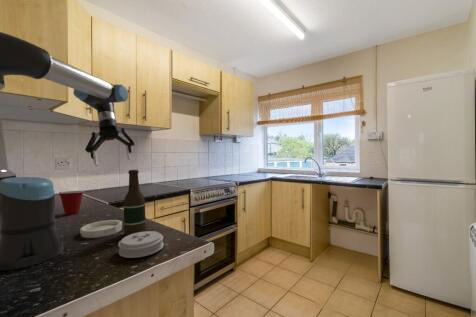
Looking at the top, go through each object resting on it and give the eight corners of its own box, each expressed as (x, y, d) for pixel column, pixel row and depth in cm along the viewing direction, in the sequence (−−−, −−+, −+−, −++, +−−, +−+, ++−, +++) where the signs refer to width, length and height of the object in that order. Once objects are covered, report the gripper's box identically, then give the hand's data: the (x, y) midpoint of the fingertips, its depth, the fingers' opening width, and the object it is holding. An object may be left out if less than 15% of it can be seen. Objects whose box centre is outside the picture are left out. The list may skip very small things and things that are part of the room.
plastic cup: (90, 211, 120) (89, 189, 120) (73, 216, 109) (72, 192, 109) (71, 210, 121) (71, 189, 121) (53, 216, 110) (52, 192, 110)
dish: (106, 238, 79) (106, 231, 79) (71, 237, 80) (71, 231, 80) (129, 226, 92) (128, 220, 92) (98, 225, 93) (98, 219, 93)
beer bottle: (150, 233, 83) (148, 169, 83) (128, 239, 78) (126, 171, 77) (141, 228, 89) (139, 169, 88) (120, 234, 83) (118, 170, 82)
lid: (130, 265, 59) (130, 247, 59) (111, 253, 67) (111, 236, 67) (171, 249, 69) (171, 233, 69) (150, 240, 77) (150, 225, 77)
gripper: (136, 123, 116) (143, 159, 109) (81, 130, 107) (84, 170, 100) (133, 115, 109) (140, 153, 102) (74, 122, 101) (78, 164, 94)
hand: (113, 161), depth 101 cm, fingers open, 13 cm apart
